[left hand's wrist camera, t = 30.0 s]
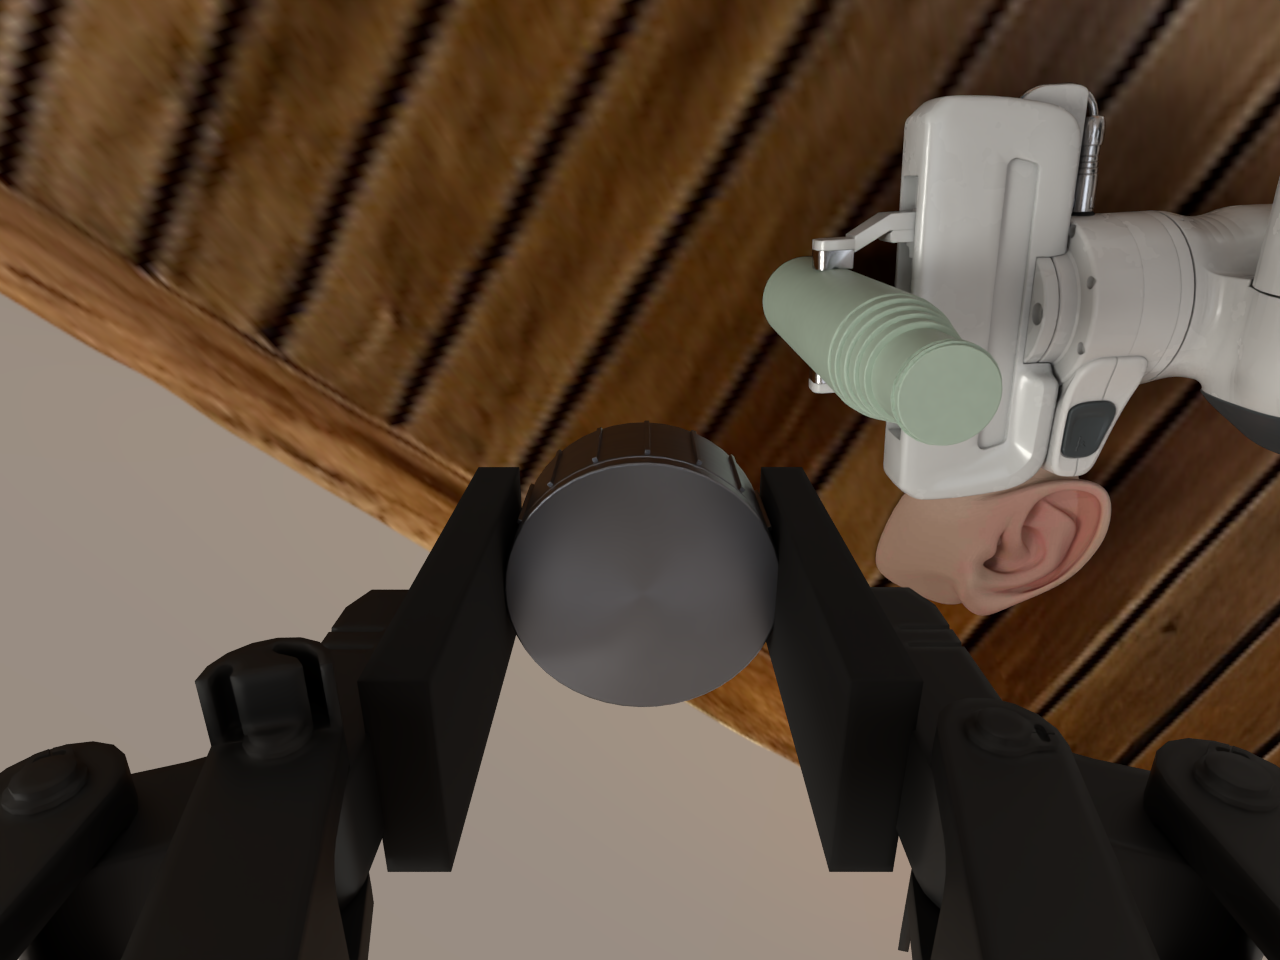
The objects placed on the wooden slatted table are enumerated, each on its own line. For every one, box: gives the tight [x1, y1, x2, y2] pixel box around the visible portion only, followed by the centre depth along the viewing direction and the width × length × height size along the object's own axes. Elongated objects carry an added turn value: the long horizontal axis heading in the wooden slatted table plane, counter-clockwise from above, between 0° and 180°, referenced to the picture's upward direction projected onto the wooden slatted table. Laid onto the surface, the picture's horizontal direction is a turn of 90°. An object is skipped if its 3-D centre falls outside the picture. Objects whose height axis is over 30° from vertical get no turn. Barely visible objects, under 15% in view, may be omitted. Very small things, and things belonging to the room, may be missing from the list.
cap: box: [504, 421, 779, 707], centre depth 14 cm, size 5×5×2 cm
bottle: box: [763, 257, 1003, 446], centre depth 35 cm, size 5×5×23 cm
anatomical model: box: [876, 468, 1111, 615], centre depth 50 cm, size 13×4×12 cm
